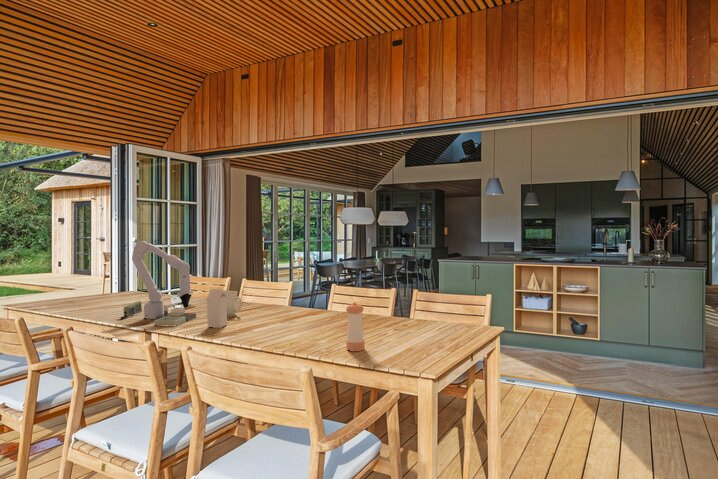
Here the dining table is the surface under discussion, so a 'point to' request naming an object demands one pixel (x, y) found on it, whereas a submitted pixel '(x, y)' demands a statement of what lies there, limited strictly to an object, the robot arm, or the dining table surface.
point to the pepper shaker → (355, 328)
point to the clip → (170, 306)
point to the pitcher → (232, 302)
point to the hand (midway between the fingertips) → (185, 307)
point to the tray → (170, 321)
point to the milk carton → (216, 308)
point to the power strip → (188, 316)
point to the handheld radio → (132, 309)
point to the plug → (177, 312)
